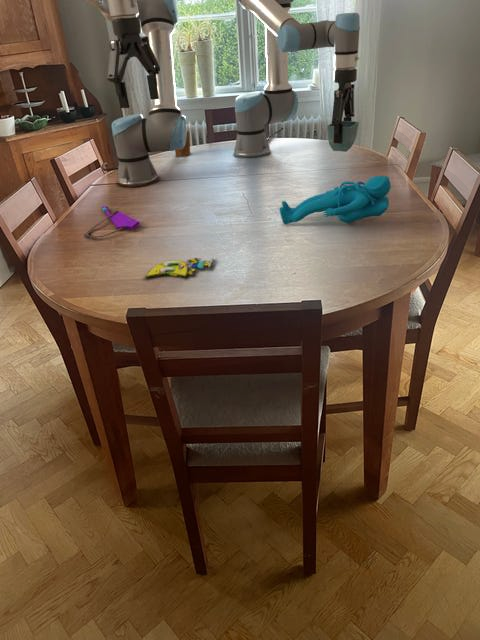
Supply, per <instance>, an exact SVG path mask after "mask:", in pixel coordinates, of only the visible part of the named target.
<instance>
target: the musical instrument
mask: <svg viewBox="0 0 480 640" xmlns="http://www.w3.org/2000/svg"><path fill="white" fill-rule="evenodd" d="M100 207H101V209H102V212H103V213H105V214H106V216H107V217H106V218H105V219H103V220H101V221H100V222H98V223H97V224H95V225H94V226H92V227H91V228H90V229H89V230H88V231H87V232H86V233H85V234H86V235H85V236H86V237H87V238H93V239H94V238H96V239H97V238H103V237H107V236H110V235H112V234H116V233H117V232H119V231H122V230H134V229H136V228H137V227H138V226H140V225H141V223H140V220H137V219H136V218H133V217H132V216H130V215H127V214H125V213H124V212H121V211H118V210H116V211H114V212H113V213H111V212H110V210H109V206H107V205H101V206H100ZM106 220H110V221H111V222H112V223H113V225H114V226H115V228H117V229H116V230H114V231H112V232H109V233H107V234H102V235H89V234H90V232H92V230H94V229H95V228H96V227H98V226H100V225H101V224H102V223H103V222H105V221H106Z"/></svg>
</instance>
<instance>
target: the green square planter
mask: <svg viewBox="0 0 480 640" xmlns="http://www.w3.org/2000/svg"><path fill="white" fill-rule="evenodd" d="M342 123H343V127H342V143H341V144H339V143H334V124H332V122H331V123H330V124H328V125H326V130H327V140H328V145H329V147H330V148H331V150H332V151H333V152H345V153H346V152H348V151H350V149H351V148H352V147H353V145H354V143H355V141H356V139H357V135H358V129H359V123H360V122H359V121H343V120H342Z"/></svg>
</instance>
